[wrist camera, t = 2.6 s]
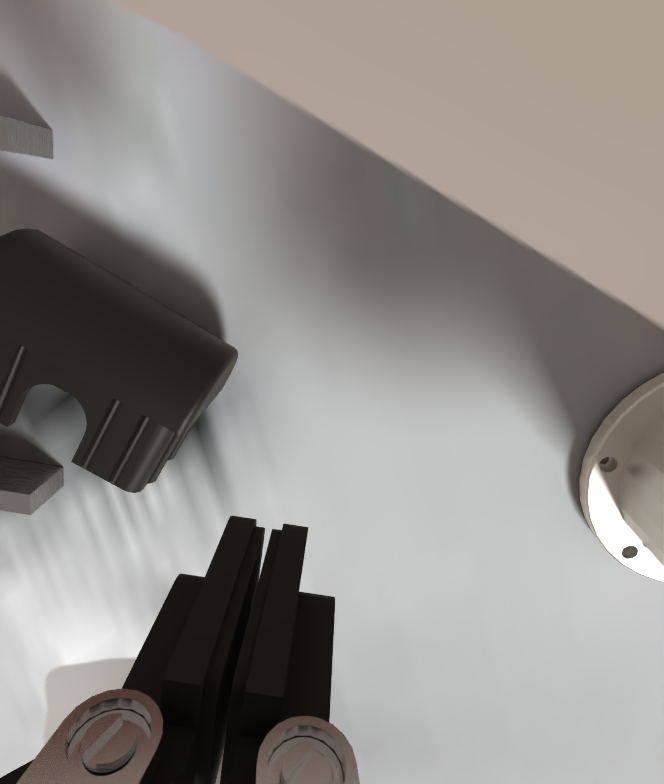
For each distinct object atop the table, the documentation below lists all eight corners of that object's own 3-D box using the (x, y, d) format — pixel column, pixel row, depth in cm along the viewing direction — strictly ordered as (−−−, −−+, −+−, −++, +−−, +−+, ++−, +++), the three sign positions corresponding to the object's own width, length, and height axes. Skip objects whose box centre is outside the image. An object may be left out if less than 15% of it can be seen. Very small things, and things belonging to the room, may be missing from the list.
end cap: (254, 335, 25) (217, 374, 19) (192, 442, 27) (140, 510, 21) (73, 225, 24) (-33, 226, 17) (23, 346, 26) (-88, 387, 20)
